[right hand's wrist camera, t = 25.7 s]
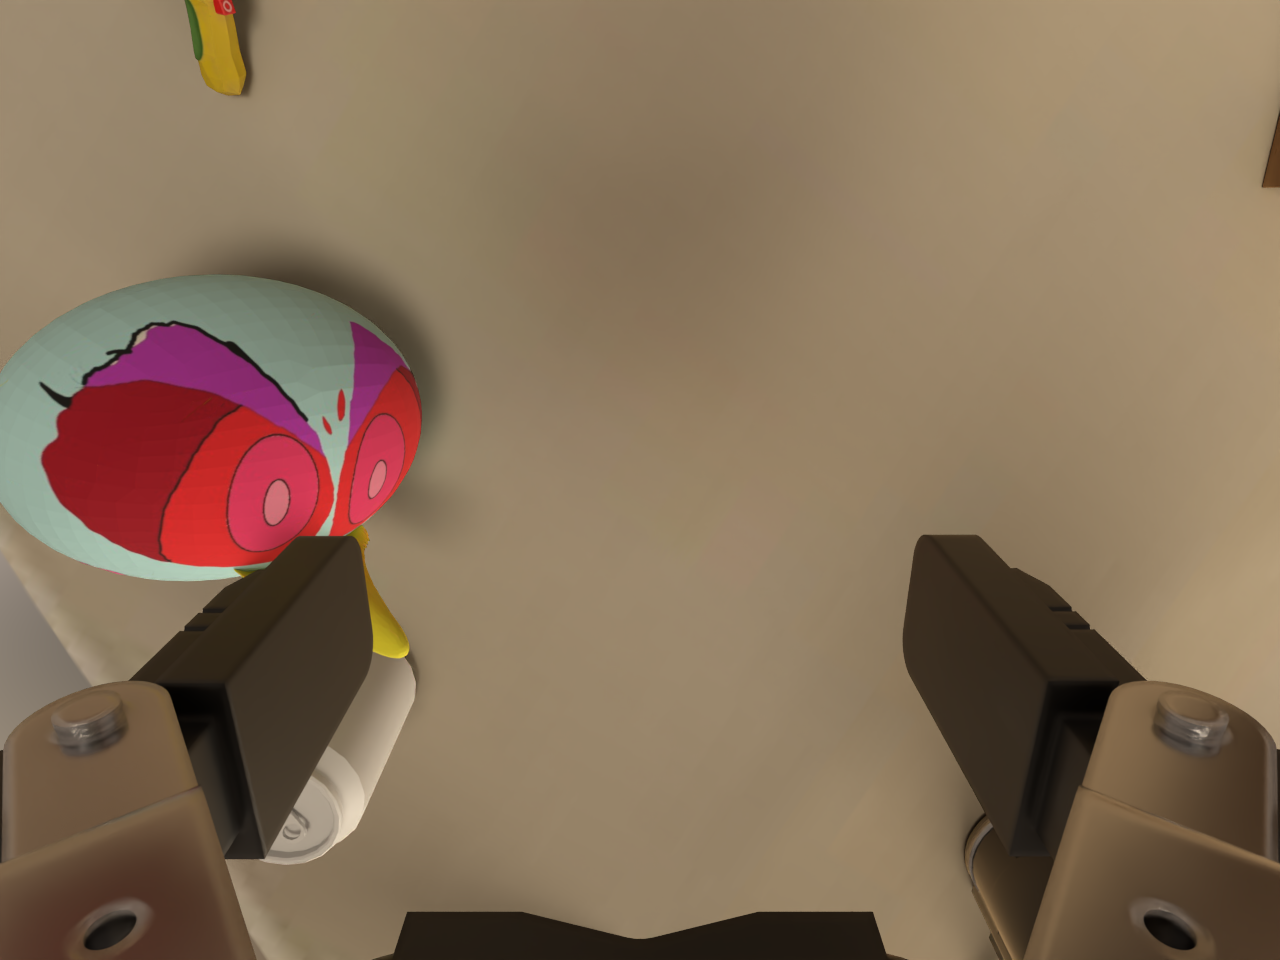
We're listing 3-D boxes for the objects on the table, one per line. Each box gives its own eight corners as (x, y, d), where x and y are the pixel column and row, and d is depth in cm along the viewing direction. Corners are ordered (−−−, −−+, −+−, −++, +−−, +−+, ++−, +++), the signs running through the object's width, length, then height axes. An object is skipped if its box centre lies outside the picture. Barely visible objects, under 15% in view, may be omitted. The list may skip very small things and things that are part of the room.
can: (363, 600, 47) (275, 729, 35) (444, 686, 49) (385, 833, 37) (274, 662, 48) (161, 804, 37) (356, 742, 50) (273, 901, 39)
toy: (165, 848, 26) (184, 455, 19) (-68, 568, 33) (-108, 219, 27) (522, 641, 40) (599, 379, 34) (306, 479, 48) (336, 239, 41)
